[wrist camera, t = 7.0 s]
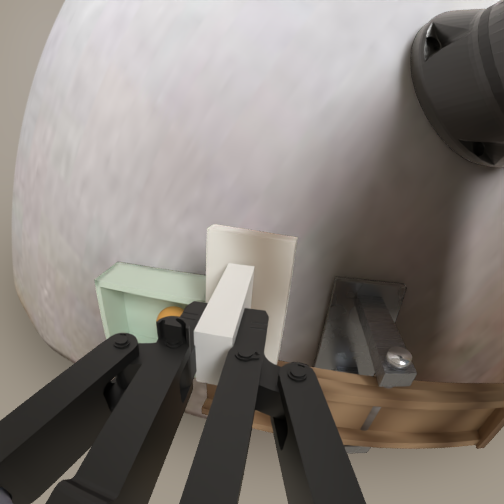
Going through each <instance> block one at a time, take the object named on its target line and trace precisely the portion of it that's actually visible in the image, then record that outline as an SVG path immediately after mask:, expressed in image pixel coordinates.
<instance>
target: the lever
mask: <svg viewBox="0 0 504 504" xmlns="http://www.w3.org/2000/svg"><path fill="white" fill-rule="evenodd" d="M297 239H298V237H292V236H286V235H280V234H274V233H268V232H261V231H255V230H249V229H242V228H236V227H229V226H222V225H216V224H213V225H212V226H210V227H209V228H207V247H206V303H208V302H209V300H210V298H211V297H212V295H213V293H214V291H215V289H216V287H217V285H218V283H219V281H220V279H221V277H222V275H223V273H224V271H225V270H226V268H227V266H228V264H229V263H232V264H240V265H248V266H255V267H254V278H253V289H252V300H251V309H257V310H264V311H266V313H267V314H268V316H269V321H268V328H267V336H266V343H265V349H264V354H265V357H266V358H267V359H268V360H269V361H270V362H271V363H273V364H275V365H278V366H280V367H282V366H284V365H285V364H287V363H289V362H284V361H279V360H278V359H279V353H280V348H281V342H282V336H283V331H284V325H285V319H286V313H287V306H288V300H289V294H290V287H291V281H292V274H293V267H294V260H295V253H296V246H297ZM311 368H312V369H313V370H314V372H315V374H316V376H317V379H318V381H319V384H320V386H321V389H322V391H323V394H324V396H325V399H326V401H327V404H328V406H329V409H330V411H331V414H332V416H333V419H334V422H335V424H336V427H337V429H338V432H339V434H340V437H341V440H342V442H343V445H352V446H363V447H377V448H445V447H459V446H468V445H476V448H477V449H479V448H484V447H485V446H486V445H487V444H488V443H489V442H490V441H491V440H492V439H493V438H494V436H495V435H496V434H497V433H498V432H499V431H500V430H501V428H502V427H503V426H504V383H446V382H428V381H414V380H413V382H412V384H411V385H410V386H399V387H379V386H378V382H377V378H376V377H375V376H367V375H359V374H352V373H345V372H339V371H332V370H326V369H320V368H315V367H311ZM216 388H217V385H213V384H208V383H207V399H206V401H205V403H204V404H203V406H202V414H205V415H208V413H209V410H210V407H211V404H212V401H213V398H214V395H215V391H216ZM252 428H254V429H258V430H262V431H267V432H272V433H273V429H272V424H271V419H270V416H269V415H266V414H264V413H261V412H259V411H257V410H255V414H254V420H253V425H252Z"/></svg>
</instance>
